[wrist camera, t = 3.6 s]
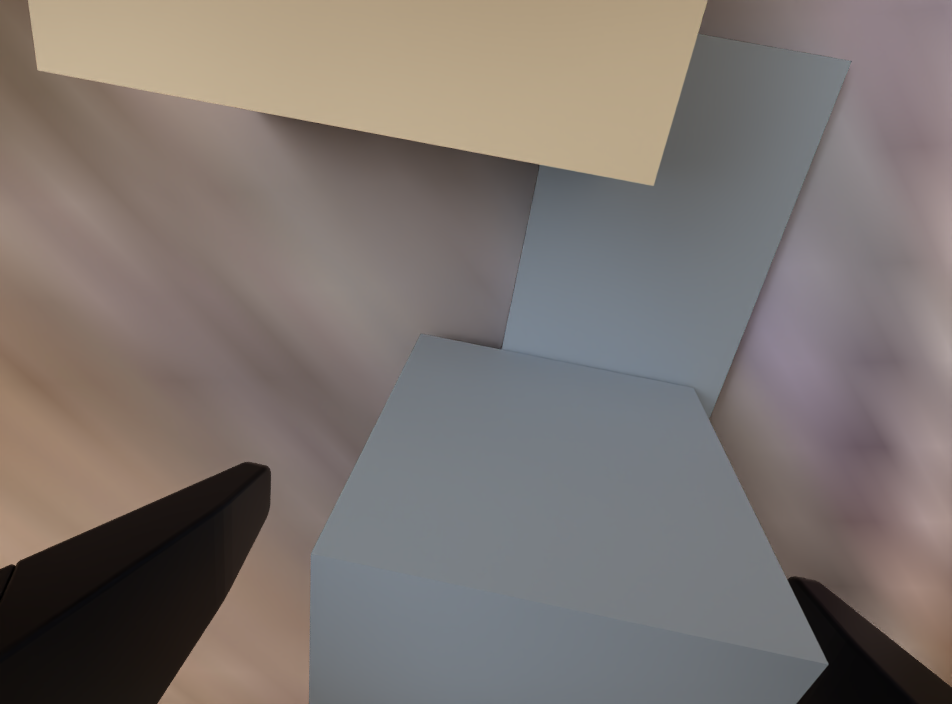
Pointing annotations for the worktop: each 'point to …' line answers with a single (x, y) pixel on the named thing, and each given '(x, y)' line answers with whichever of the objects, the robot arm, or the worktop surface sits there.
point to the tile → (676, 225)
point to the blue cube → (548, 548)
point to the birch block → (407, 67)
